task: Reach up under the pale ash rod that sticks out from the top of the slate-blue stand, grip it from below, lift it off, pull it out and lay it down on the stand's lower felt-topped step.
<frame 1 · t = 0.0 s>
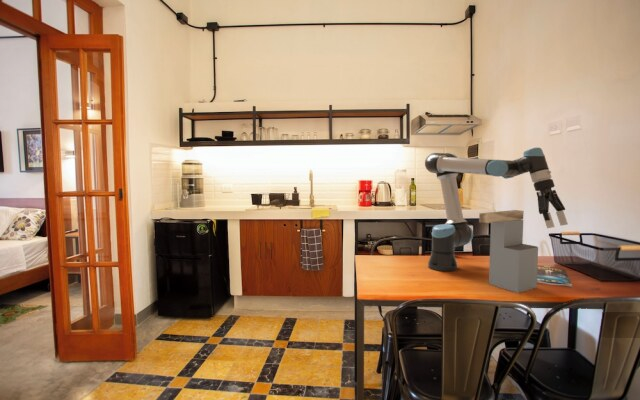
hand: (557, 226, 145), 28 cm above the table, tool tilted 20°, fingers open, 13 cm apart
stand: (511, 285, 150), on the table
ash rod: (501, 220, 149), point 30 cm above the table, touching stand
novelty item: (448, 255, 208), on the table
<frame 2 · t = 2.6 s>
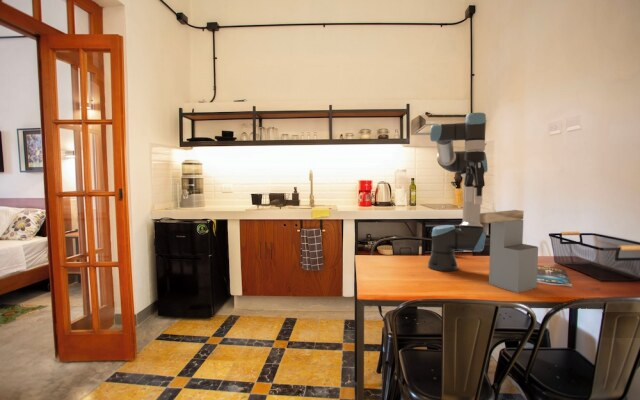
hand: (473, 203, 136), 39 cm above the table, tool pointing down, fingers open, 13 cm apart
nothing on the table moved.
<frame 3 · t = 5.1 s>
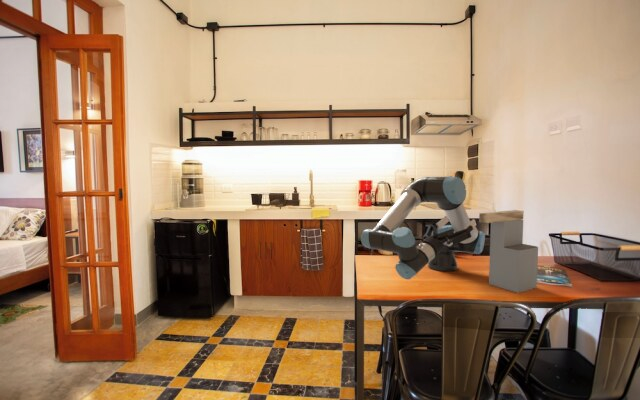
hand: (460, 220, 137), 32 cm above the table, tool pointing upward, fingers open, 13 cm apart
nothing on the table moved.
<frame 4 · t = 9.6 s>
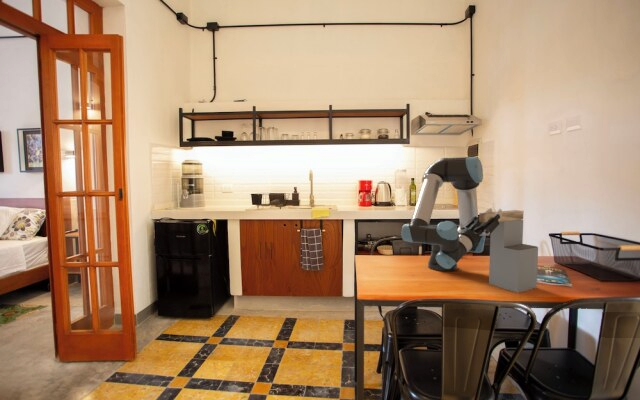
hand: (496, 210, 147), 35 cm above the table, tool pointing upward, fingers closed on ash rod, 4 cm apart
ash rod: (501, 220, 149), point 30 cm above the table, touching gripper, stand
everything else where it was.
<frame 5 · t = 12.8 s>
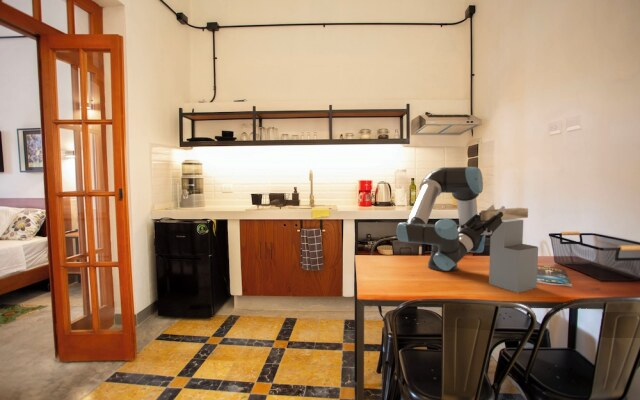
hand: (498, 208, 136), 37 cm above the table, tool pointing upward, fingers closed on ash rod, 4 cm apart
ash rod: (504, 218, 138), point 32 cm above the table, touching gripper
everything else where it was.
when the fingers open (25 cm above the table, at t = 16.2 s): ash rod drops 1 cm, resting on stand.
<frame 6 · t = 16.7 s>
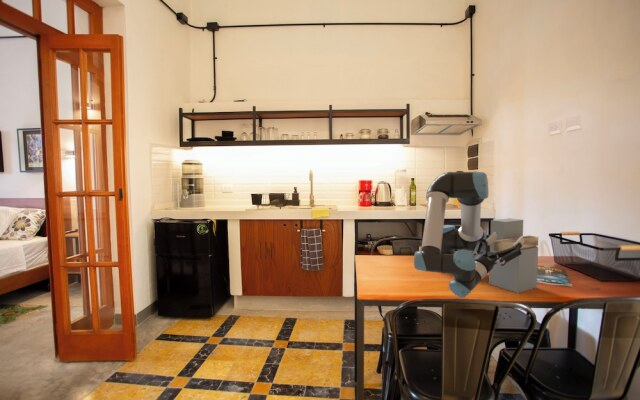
hand: (508, 236, 141), 24 cm above the table, tool pointing upward, fingers open, 11 cm apart
ash rod: (516, 247, 143), point 19 cm above the table, touching stand
everything else where it was.
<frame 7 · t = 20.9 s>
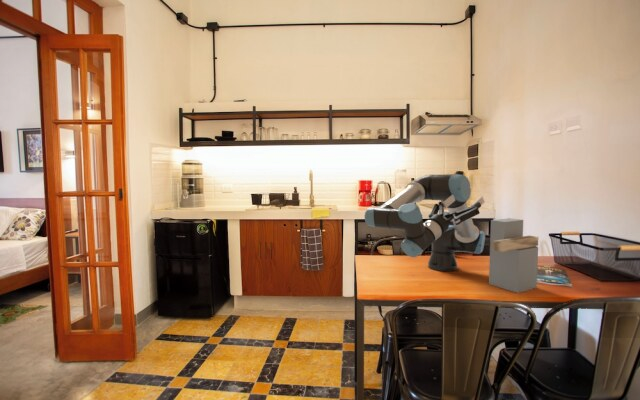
hand: (467, 198, 133), 41 cm above the table, tool pointing upward, fingers open, 13 cm apart
nothing on the table moved.
at the end: ash rod inside the target area (0.4 cm from its centre), point 18.8 cm above the table; ash rod tilted 0°; the gripper is holding nothing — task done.
